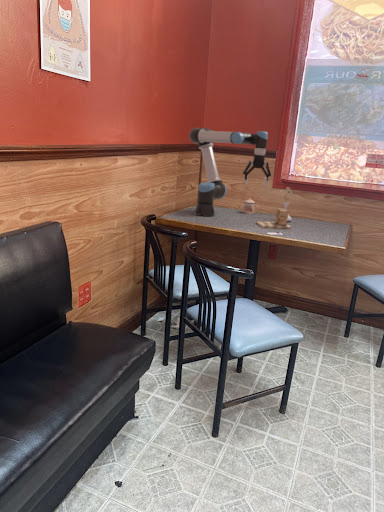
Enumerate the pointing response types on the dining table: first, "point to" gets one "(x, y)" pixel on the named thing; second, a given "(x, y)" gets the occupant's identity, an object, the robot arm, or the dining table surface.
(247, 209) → the teacup with lid
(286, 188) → the flower in vase
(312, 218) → the dining table surface
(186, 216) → the dining table surface
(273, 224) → the board
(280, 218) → the block
